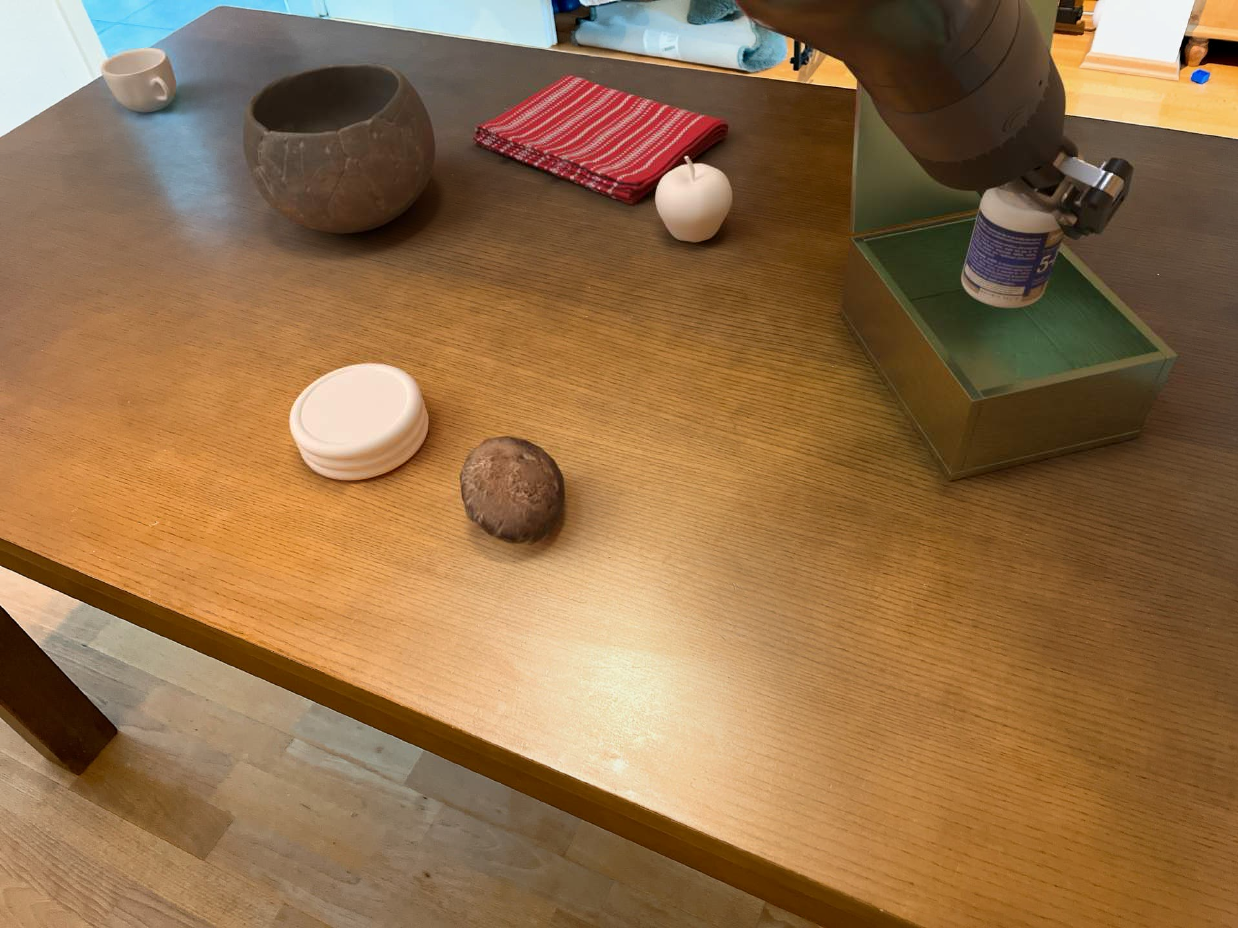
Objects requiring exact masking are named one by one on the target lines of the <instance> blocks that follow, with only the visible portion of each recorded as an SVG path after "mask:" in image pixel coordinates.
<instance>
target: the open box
mask: <svg viewBox="0 0 1238 928" xmlns="http://www.w3.org/2000/svg"><path fill="white" fill-rule="evenodd" d="M977 215H978V211H975V212H972V213H971V212H970V213H966V214H962V215H961V214H960V215H957V216H951V217H946V218H941V219H936V220H932V221H925V222H920V223H916V224H911V225H906V226H900V227H896V228H891V229H885V230H880V231H875V232H871V233H865V234H860V235H854V236H851V237H850V241H849V247H848V248H849V249H848V255H847V263H846V270H845V278H844V285H843V293H842V299H841V305H840V312H839V317H840V318H841V320H842V321H843V323H844V324H845V326H846V327H847V329H848V330H849V332H850V333H851V335H852V337H853V338H854V340H855V341H856V343H857V344H858V346H859V347H860V349H861V350H862V352H863V353H864V355H865V356H866V358H867V359H868V361H869V363H870V364H871V366H872V367H873V369H874V370H875V371H876V373H877V374H878V376H879V378H880V379H881V382H883V383H884V385H885V387H886V388H887V390H888V391H889V393H890V394H891V396H892V398H893V399H894V400H895V402H896V404H897V405H898V407H899V408H900V410H901V411H902V413H903V414H904V416H905V417H906V419H907V420H908V422H909V423H910V425H911V427H912V428H913V429H914V431H915V432H916V434H917V435H918V437H919V439H920V441H921V442H922V443H923V445H924V446H925V448H926V449H927V451H928V452H929V453H930V456H931V457H932V459H933V460H934V461H935V463H936V465H937V467H938V468H939V469H940V470H941V472H942V473H943V475H944V477H945V478H946V479H947V481H948V482H953V481H956V480H957V481H958V480H961V479H965V478H969V477H973V476H978V475H982V474H987V473H990V472H991V473H992V472H995V471H999V470H1004V469H1008V468H1013V467H1017V466H1022V465H1026V464H1030V463H1034V462H1038V461H1042V460H1043V461H1044V460H1047V459H1051V458H1056V457H1060V456H1065V455H1069V454H1073V453H1077V452H1078V453H1079V452H1082V451H1085V450H1091V449H1094V448H1099V447H1104V446H1108V445H1113V444H1117V443H1121V442H1126V441H1129V440H1134V439H1137V438H1139V435H1140V433H1141V430H1142V429H1143V426H1144V425H1145V423H1146V420H1147V418H1148V417H1149V415H1150V413H1151V411H1152V409H1153V406H1154V405H1155V403H1156V400H1157V399H1158V396H1159V394H1160V393H1161V390H1162V389H1163V386H1164V384H1165V382H1166V380H1167V379H1168V377H1169V375H1170V372H1171V370H1172V368H1173V366H1174V364H1175V362H1176V360H1177V358H1178V356H1179V355H1178V354H1177V353H1176V352H1175V351H1174V350H1173V349H1172V348H1171V347H1170V346H1169V345H1168V344H1167V343H1166V342H1165V341H1164V340H1163V339H1162V338H1161V337H1160V336H1159V335H1157V333H1155V331H1154V330H1152V329H1151V328H1150V327H1149V325H1147V324H1146V323H1145V322H1144V321H1143V320H1142V319H1141V318H1140V317H1139V316H1138V315H1137V314H1136V313H1135V311H1133V310H1132V309H1131V308H1130V307H1129V306H1128V305H1127V304H1126V303H1125V302H1124V301H1123V300H1122V299H1121V298H1120V297H1119V296H1118V295H1116V293H1115V292H1114V291H1113V290H1111V289H1110V287H1109V286H1108V285H1106V284H1105V282H1103V280H1101V278H1099V277H1098V275H1096V274H1095V273H1094V272H1093V271H1092V269H1090V267H1088V266H1087V265H1086V264H1085V263H1084V262H1083V261H1082V260H1081V259H1080V258H1079V257H1078V256H1077V255H1076V254H1075V253H1074V252H1073V251H1072V250H1071V249H1070V248H1069V247H1068V246H1067V245H1065V244H1064V243H1063V241H1062V242H1061V245H1060V248H1059V251H1058V254H1057V256H1056V259H1055V262H1054V265H1053V268H1052V271H1051V274H1050V277H1049V280H1048V283H1047V286H1046V288H1045V291H1044V293H1043V295H1042V296H1041V297H1040V298H1039V299H1038V300H1037V301H1036V302H1034V303H1032V304H1030V305H1027V306H1024V307H1019V308H1001V307H995V306H991V305H988V304H985V303H983V302H980V301H979V300H977V299H975V298H973V297H972V296H971V295H970V294H969V293H968V292H967V291H966V290H965V288H964V287H963V285H962V281H961V276H962V272H963V268H964V264H965V261H966V257H967V254H968V250H969V246H970V242H971V239H972V235H973V231H974V227H975V223H976V219H977Z"/></svg>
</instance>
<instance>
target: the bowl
mask: <svg viewBox="0 0 1238 928" xmlns="http://www.w3.org/2000/svg"><path fill="white" fill-rule="evenodd" d="M242 133H243V134H242V143H243V145H242V146H243V147H242V148H243V152H244V158H245V161H246V165H247V169H248V172H249V174H250V177H251V179H252V182H253V184H254V186H255V188H256V189H257V191H258V192H259V194H260V196H261V197H262V198H263V199H264V201H265V202H266V203H267V204H268V205H269V206H270V207H271V208H272V209H274V211H276V212H277V213H278V214H280V215H281V216H283V217H284V218H287V219H288V220H291V221H292V222H295V223H297V224H300V225H302V226H304V227H307V228H308V229H311V230H316V231H318V232H319V231H320V232H324V233H330V234H355V233H356V234H357V233H362V232H368V231H370V230H374V229H377V228H380V227H382V226H385V225H386V224H388V223H390V222H391V221H394V220H395V219H396V218H398V217H399V216H401V215H402V214H404V213H405V212H406V211H407V210H408V209H410V207H411V206H412V205H413V204H414V203H415V202H416V201H417V200H418V198H419V197H420V196H421V195H422V193H423V191H424V190H425V188H426V187H427V185H428V183H429V181H430V180H431V179H430V178H431V175H432V174H433V173H432V172H433V169H434V164H435V161H436V160H435V159H436V140H435V133H434V128H433V124H432V122H431V117H430V115H429V113H428V110H427V108H426V106H425V104H424V102H423V100H422V98H421V96H420V94H419V93H418V92H417V89H416V88H415V87H414V86H413V84H412V83H411V82H410V81H409V79H408V78H407V77H406V76H405V75H404V74H403V73H401V72H400V71H399V70H397V69H396V68H394V67H392V66H389V65H386V64H382V63H377V62H347V63H346V62H345V63H334V64H327V65H322V66H321V65H320V66H317V67H313V68H308V69H304V70H301V71H298V72H294V73H291V74H288V75H285V76H281V77H280V78H277V79H275V80H272V81H271V82H270V83H268V84H266V85H264V86H263V87H261V88H260V89H259V90H258V91H256V92H255V93H254V95H252V97H251V98H250V100H249V101H248V104H247V107H246V111H245V116H244V121H243V132H242Z"/></svg>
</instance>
